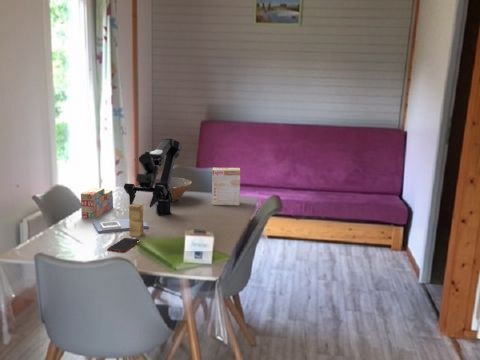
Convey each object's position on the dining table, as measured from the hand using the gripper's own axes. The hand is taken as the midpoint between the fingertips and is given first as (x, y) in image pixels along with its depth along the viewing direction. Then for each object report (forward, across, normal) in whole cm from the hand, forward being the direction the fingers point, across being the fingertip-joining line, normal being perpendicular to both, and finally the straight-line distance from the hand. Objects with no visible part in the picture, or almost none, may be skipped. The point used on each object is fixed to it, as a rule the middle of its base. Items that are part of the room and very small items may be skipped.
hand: (140, 206), depth 211 cm
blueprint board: (+5, -11, +11) cm, 16 cm away
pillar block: (+11, 0, +5) cm, 12 cm away
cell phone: (+22, +1, -5) cm, 23 cm away
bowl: (-32, -7, +48) cm, 58 cm away
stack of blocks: (-7, -31, +23) cm, 39 cm away
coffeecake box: (-32, +25, +48) cm, 63 cm away
